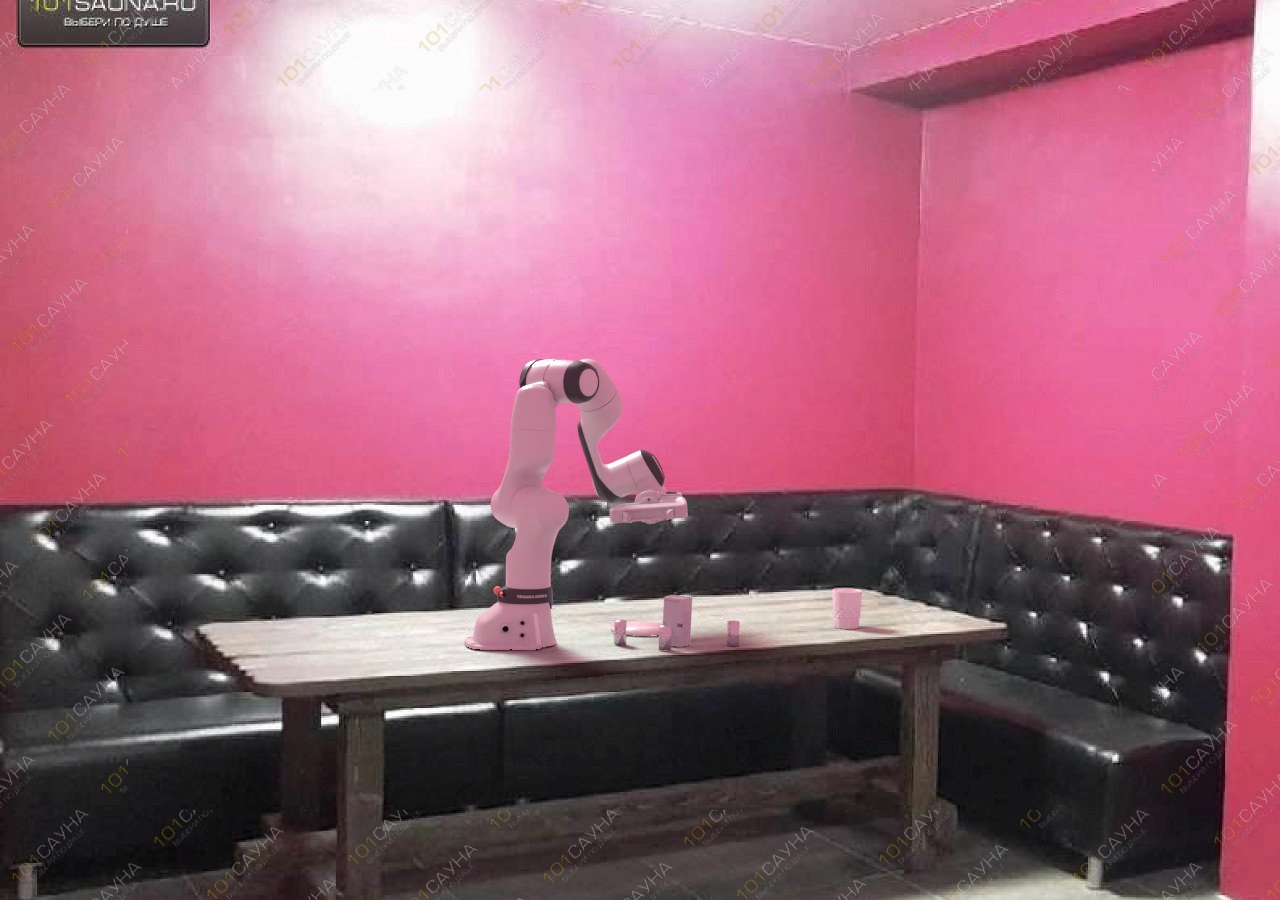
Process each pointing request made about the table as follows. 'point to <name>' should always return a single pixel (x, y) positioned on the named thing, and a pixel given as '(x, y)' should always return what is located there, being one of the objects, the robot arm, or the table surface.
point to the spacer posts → (666, 634)
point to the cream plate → (641, 628)
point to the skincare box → (678, 618)
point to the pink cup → (846, 607)
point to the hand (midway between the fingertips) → (647, 518)
